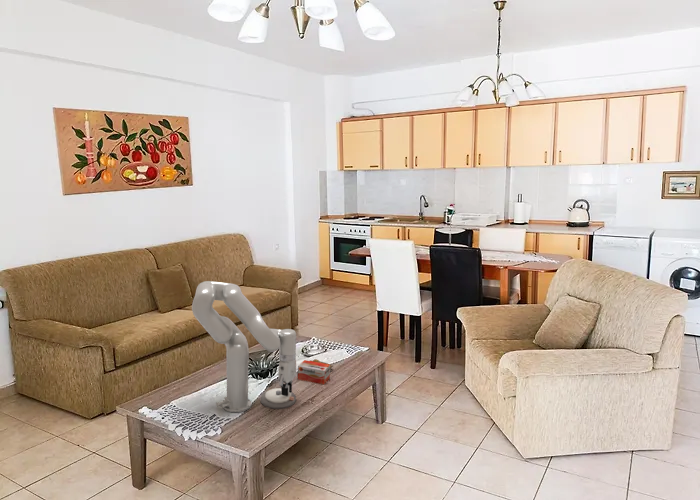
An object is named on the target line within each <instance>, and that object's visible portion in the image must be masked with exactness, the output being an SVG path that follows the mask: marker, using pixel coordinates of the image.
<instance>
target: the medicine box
mask: <svg viewBox="0 0 700 500" xmlns="http://www.w3.org/2000/svg"><path fill="white" fill-rule="evenodd" d="M324 363H325V362H324ZM324 363H319V362H313V360H312V361H310V360H308V359H307V360H305V359H304V360H303V361H302V362H300V364H298V365H297V370H296V377H297V380H298V381H303V382H309V383H313V384H319V385H323V386H324V385H325V384H326V383H327V382H328V381H330V378H331V370H330V365H331V364H330V363H328V364H324ZM329 364H330V365H329Z"/></svg>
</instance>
